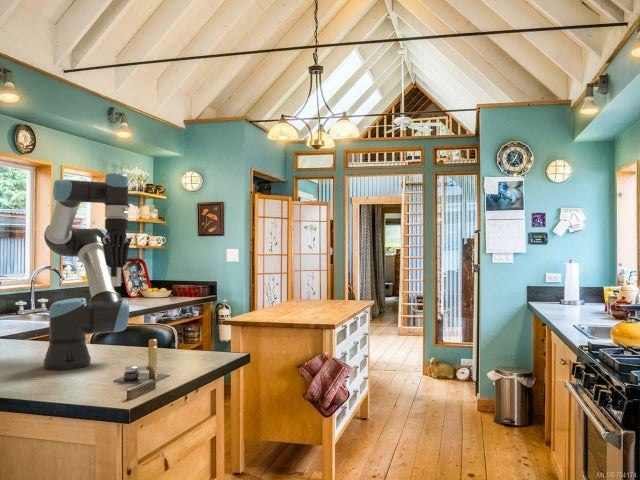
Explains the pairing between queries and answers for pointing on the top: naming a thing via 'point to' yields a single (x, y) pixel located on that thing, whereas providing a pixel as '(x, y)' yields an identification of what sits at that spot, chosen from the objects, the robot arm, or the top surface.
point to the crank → (141, 368)
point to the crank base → (144, 377)
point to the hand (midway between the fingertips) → (116, 286)
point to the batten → (141, 389)
